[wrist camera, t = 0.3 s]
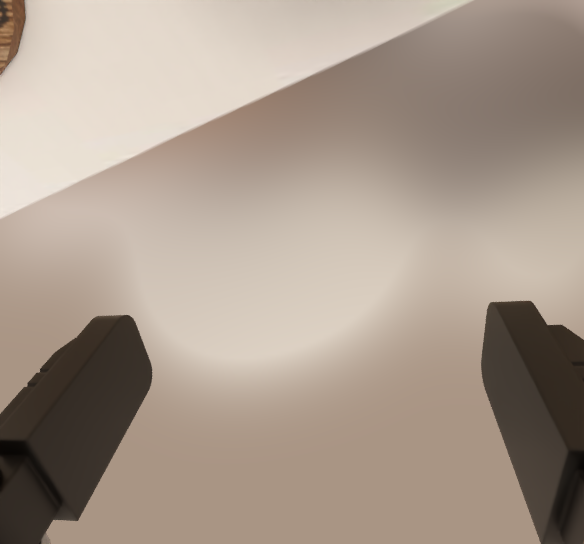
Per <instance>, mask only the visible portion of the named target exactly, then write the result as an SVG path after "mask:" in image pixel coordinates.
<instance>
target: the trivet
mask: <svg viewBox="0 0 584 544" xmlns="http://www.w3.org/2000/svg"><path fill="white" fill-rule="evenodd" d="M24 22H25V7H24V0H0V74H1V73H2V72H3V70H4V69H5V68H6V66H7V65H8V64H9V62H10V61H11V60H12V59H13V57H14V56H15V55H16V53H17V51H18V47H19V43H20V39H21V35H22V31H23V26H24Z"/></svg>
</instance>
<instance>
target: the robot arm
mask: <svg viewBox="0 0 584 544" xmlns="http://www.w3.org/2000/svg"><path fill="white" fill-rule="evenodd" d="M481 368H482V378H483V383H484V387H485V390H486V393H487V396H488V398H489V401H490V404H491V407H492V409H493V412H494V415H495V418H496V421H497V423H498V426H499V429H500V432H501V434H502V437H503V440H504V443H505V446H506V448H507V451H508V454H509V457H510V459H511V462H512V465H513V468H514V470H515V473H516V476H517V479H518V481H519V484H520V487H521V490H522V492H523V495H524V498H525V501H526V504H527V506H528V509H529V512H530V514H531V517H532V520H533V523H534V526H535V528H536V531H537V534H538V537H539V539H540V542H541V544H584V340H583V339H581V338H580V337H579V336H577V335H576V334H574V333H573V332H572V331H570V330H569V329H567V328H566V327H564V326H563V325H547V324H546V322H545V321H544V319H543V318H542V316H541V315H540V313H539V312H538V310H537V308H536V307H535V305H534V304H533V303H532V302H531V301H515V302H514V301H513V302H491V303H490V304H489V306H488V309H487V316H486V324H485V333H484V342H483V350H482V360H481ZM151 381H152V367H151V363H150V360H149V357H148V355H147V352H146V349H145V347H144V344H143V341H142V339H141V336H140V333H139V331H138V328H137V326H136V323H135V321H134V319H133V318H132V317H130V316H129V315H116V316H97V317H95V318H93V319H92V320H91V321H90V323H89V324H88V325H87V326H86V327H85V328H84V330H83V331H82V332H81V333H80V334H79V335H78V337H77V338H75V339H73V340H72V341H70V342H69V343H68V344H66V345H65V346H63V347H62V348H60V349H59V350H58V351H57V352H55V353H54V354H53V355H52V356H51V358H50V359H49V360H48V361H47V362H46V363H45V364H44V365H43V366H42V368H41V369H40V373H36V374H35V375H34V377H33V378H32V379H31V380H30V381H29V382H28V386H27V387H24V388H23V389H22V390H21V391H20V392H19V393H18V395H17V396H16V397H15V398H14V399H13V400H12V401H11V403H10V404H9V405H8V406H7V407H6V408H5V409H4V411H3V412H2V413H1V414H0V544H51V543H50V539H49V537H48V535H47V534H46V531H47V529H48V528H49V526H50V524H51V522H52V521H53V520H70V521H78V520H79V518H80V516H81V514H82V512H83V510H84V508H85V507H86V505H87V503H88V501H89V499H90V497H91V496H92V494H93V492H94V490H95V488H96V486H97V485H98V483H99V481H100V479H101V477H102V475H103V474H104V472H105V470H106V468H107V466H108V464H109V463H110V461H111V459H112V457H113V455H114V453H115V451H116V450H117V448H118V446H119V444H120V442H121V440H122V438H123V437H124V435H125V433H126V431H127V429H128V428H129V426H130V424H131V422H132V420H133V418H134V417H135V415H136V413H137V411H138V409H139V407H140V406H141V404H142V402H143V400H144V398H145V396H146V395H147V393H148V391H149V389H150V386H151Z"/></svg>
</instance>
